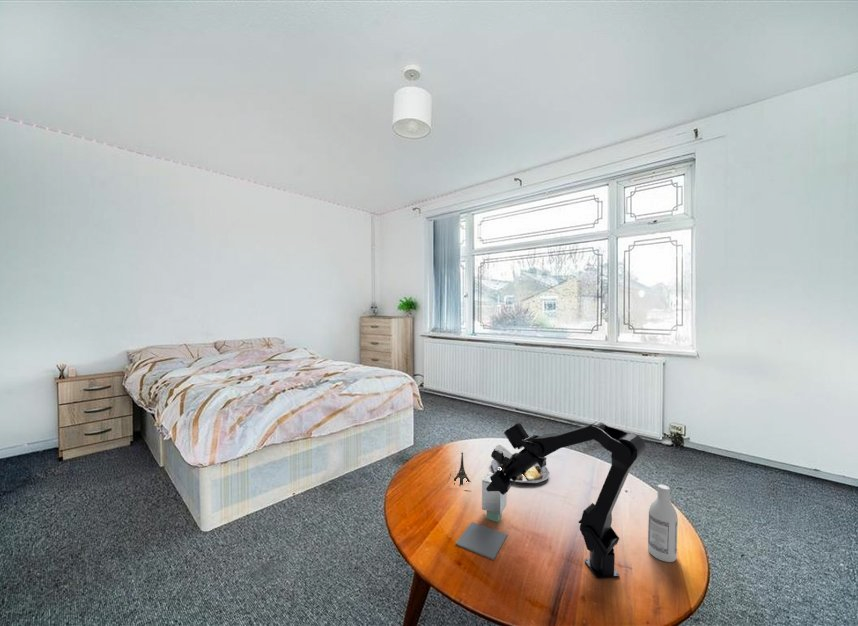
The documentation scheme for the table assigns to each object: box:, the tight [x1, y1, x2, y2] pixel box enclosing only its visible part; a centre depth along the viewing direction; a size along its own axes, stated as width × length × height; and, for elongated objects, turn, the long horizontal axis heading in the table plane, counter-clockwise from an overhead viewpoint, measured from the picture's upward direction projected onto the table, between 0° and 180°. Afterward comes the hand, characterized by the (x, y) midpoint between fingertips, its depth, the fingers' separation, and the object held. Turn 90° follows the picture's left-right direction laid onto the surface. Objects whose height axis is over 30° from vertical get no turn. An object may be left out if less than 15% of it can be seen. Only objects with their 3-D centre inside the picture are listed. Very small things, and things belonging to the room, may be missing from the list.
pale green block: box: [486, 511, 503, 523], centre depth 118 cm, size 4×4×3 cm
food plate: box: [490, 459, 550, 484], centre depth 151 cm, size 25×23×4 cm
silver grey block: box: [481, 471, 508, 515], centre depth 118 cm, size 6×6×10 cm
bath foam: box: [647, 483, 679, 563], centre depth 101 cm, size 7×7×20 cm
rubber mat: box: [455, 521, 508, 561], centre depth 106 cm, size 12×12×1 cm
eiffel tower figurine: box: [453, 451, 472, 486], centre depth 142 cm, size 15×10×13 cm
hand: (490, 485), depth 118 cm, fingers closed on silver grey block, 6 cm apart
